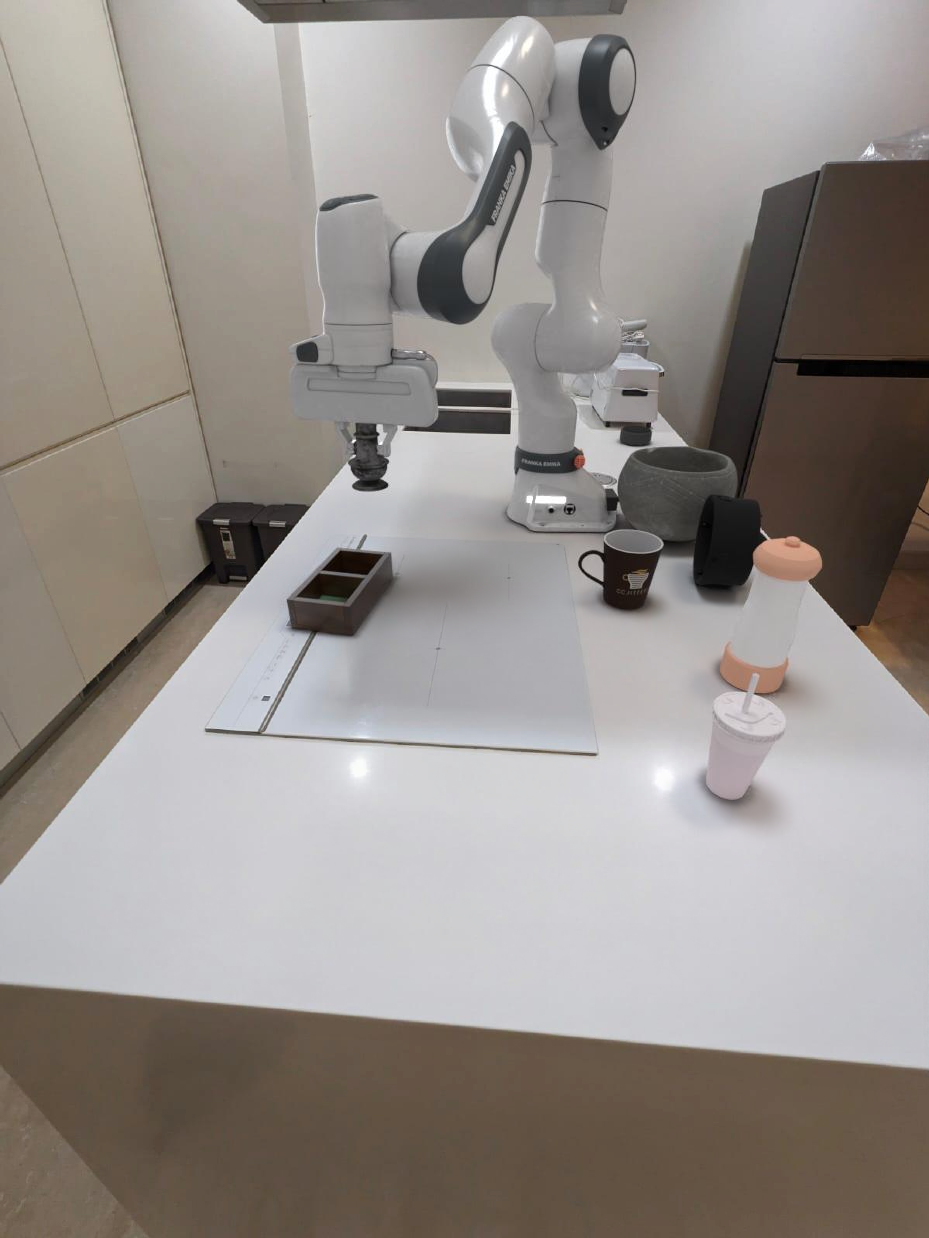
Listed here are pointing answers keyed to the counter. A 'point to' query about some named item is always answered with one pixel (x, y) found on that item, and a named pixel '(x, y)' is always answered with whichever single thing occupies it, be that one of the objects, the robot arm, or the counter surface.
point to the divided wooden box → (341, 591)
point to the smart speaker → (635, 435)
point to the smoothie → (741, 739)
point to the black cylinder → (726, 541)
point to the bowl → (672, 488)
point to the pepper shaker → (770, 614)
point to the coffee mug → (627, 567)
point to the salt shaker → (368, 460)
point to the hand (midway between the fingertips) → (367, 455)
